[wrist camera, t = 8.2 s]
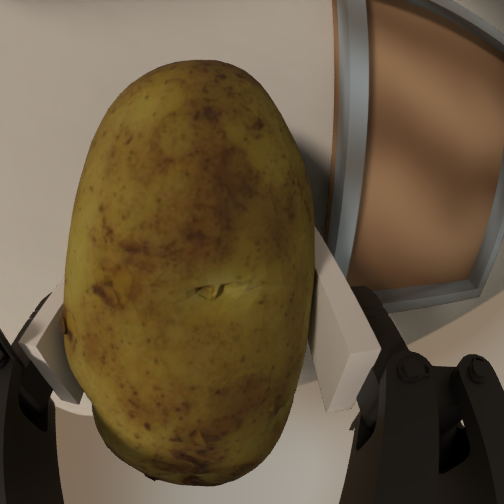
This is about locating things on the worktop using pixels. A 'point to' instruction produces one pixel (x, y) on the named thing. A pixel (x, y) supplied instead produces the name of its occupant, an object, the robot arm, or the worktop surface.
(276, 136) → the potato
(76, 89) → the worktop surface
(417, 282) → the metal baking tray
